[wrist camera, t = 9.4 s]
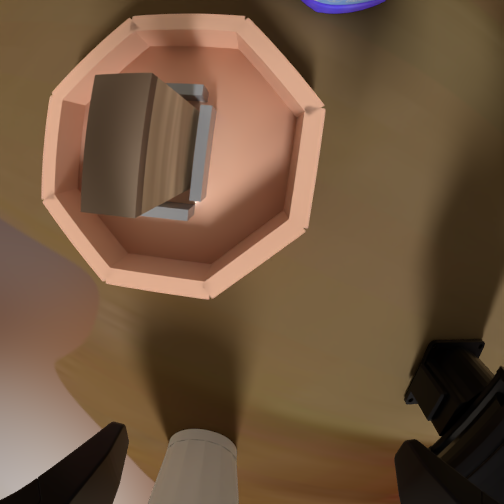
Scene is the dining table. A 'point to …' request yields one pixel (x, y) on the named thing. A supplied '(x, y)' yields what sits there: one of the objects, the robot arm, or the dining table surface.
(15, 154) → the dining table surface
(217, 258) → the candle dish
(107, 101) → the block
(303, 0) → the bottle
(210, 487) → the cup
